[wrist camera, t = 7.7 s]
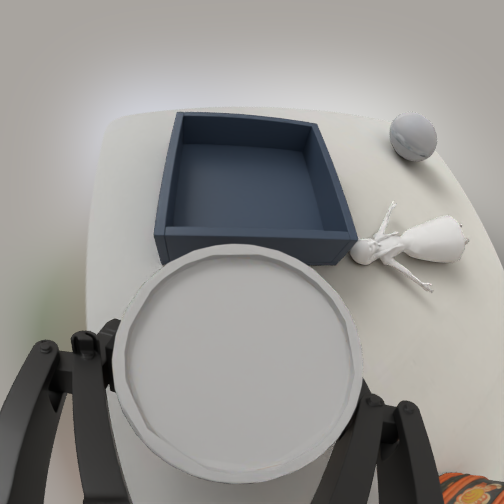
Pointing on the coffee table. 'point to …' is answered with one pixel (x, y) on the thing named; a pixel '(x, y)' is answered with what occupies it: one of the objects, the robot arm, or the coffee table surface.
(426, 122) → the bath bomb
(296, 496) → the coffee table surface
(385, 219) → the woman figurine
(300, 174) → the bin
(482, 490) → the lidded tankard
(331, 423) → the disposable coffee cup
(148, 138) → the coffee table surface
